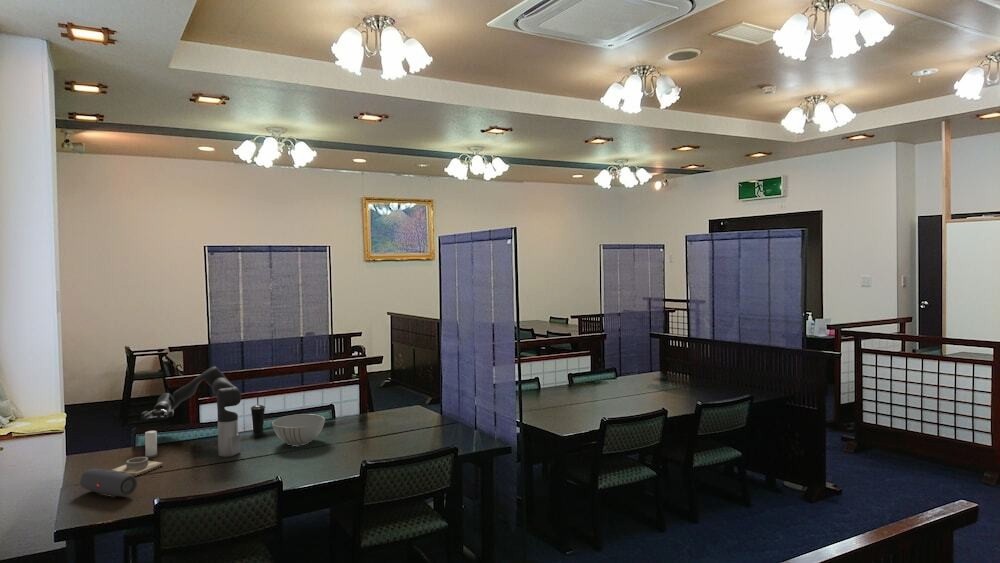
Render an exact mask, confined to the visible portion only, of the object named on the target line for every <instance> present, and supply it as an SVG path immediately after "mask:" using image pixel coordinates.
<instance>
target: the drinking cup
mask: <svg viewBox="0 0 1000 563" xmlns="http://www.w3.org/2000/svg"><path fill="white" fill-rule="evenodd" d="M265 408H266V406H265V405H263V404H259V395H257V396H256V405H253V406H251V407H250V410H251V420H252V428H253V433H261V432H263V431H264V420H265Z"/></svg>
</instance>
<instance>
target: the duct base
mask: <svg viewBox="0 0 1000 563" xmlns="http://www.w3.org/2000/svg"><path fill="white" fill-rule="evenodd" d="M160 466H162V467H164V462H160V461H152V460H149V458H147V457H145V456H137V457H131V458H130V459H127V460H126V461H125V464H123V465H120V466H118V467H116V468H115V467H114V468H112V469H110V471H116V472H121V473H125V474H129V475H135V476H137V475H140V474H142V473H145V472H147V473H149V472H148V471H150V472H152V471H154V470H153V469H155V468H157V469H159V468H161V467H160ZM158 467H159V468H158ZM151 470H152V471H151ZM155 470H156V469H155ZM145 474H146V473H145ZM142 475H143V474H142ZM140 476H141V475H140ZM137 477H138V476H137Z"/></svg>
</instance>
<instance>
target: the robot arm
mask: <svg viewBox="0 0 1000 563" xmlns="http://www.w3.org/2000/svg"><path fill="white" fill-rule="evenodd" d="M202 381H204V382H205V383H206V384H207V385H208V386H209V387H210V388H211V390H212V392H213V394H215V396H216V407H217V408H216V410H217V445H218V446H217V448H218V449H217V450H218V452H217V453H218V454H217V455H218V456H219V457H227V458H228V457H233V456H236V455H238V454H240V453H241V434H240V433H239V417H238V416H239V415H238V413H237V412H235V411H230V410H227V409H226V407H227V408H228V407H235V406H238V405H240V403H241V401H242V393H241V391H240V389H239V388H238V387H237V386H235V385H234V384H232V382H231V381H230V380H229V379H228V378H227V377H226V376H225V374H224V373H223V372H222V371H221V370H220V369H219V368H218V367H217V366H211V367H210V368H207V369H206V370H205V371H203V372H202V373H200V374H199V375H198V376H196V377H195V378H193V380H191V381H190V382H189V383H187V384H185V385H183V386H182V387H180V388H179V389H176V390H175V391H174V392H173V393H172V394H171V393H170V392H165V393H162V394H161V395H160V396H159V397H158V399H157V403H156V404H155V405H154V407H153V408H152V410H150V411H148V410H145V411H143V412H141V419H143V420H145V421H147V420H149V419H153V418H156V419H164V420H165V419H166V418H169V417H174V413H175V411H174V410H175V409H176V408H177V407H178V406H179V405H180V404H181V403H183V402H184V401H186V400H188V399H190V398H191V397H192V396H194V395H195V393H196V391H197V389H198V388H199V385H200V384H201V383H202Z"/></svg>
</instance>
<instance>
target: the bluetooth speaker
mask: <svg viewBox="0 0 1000 563" xmlns="http://www.w3.org/2000/svg"><path fill="white" fill-rule="evenodd" d="M79 482H80V486H81V488H83V489H86V490H88V491H90V492H91V491H92V492H94V493H97V494H98V493H101V494H106V495H111V496H118V497H129V496H131V495H132V494H133V493H134V492H135V491H136V489H137V487H138V480H137V478H136V477H134V476H132V475H129V474H125V473H121V472H116V471H111V469H103V468H89V469H87V470H85V471H84V473H82V475H81V478H80V481H79Z"/></svg>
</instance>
